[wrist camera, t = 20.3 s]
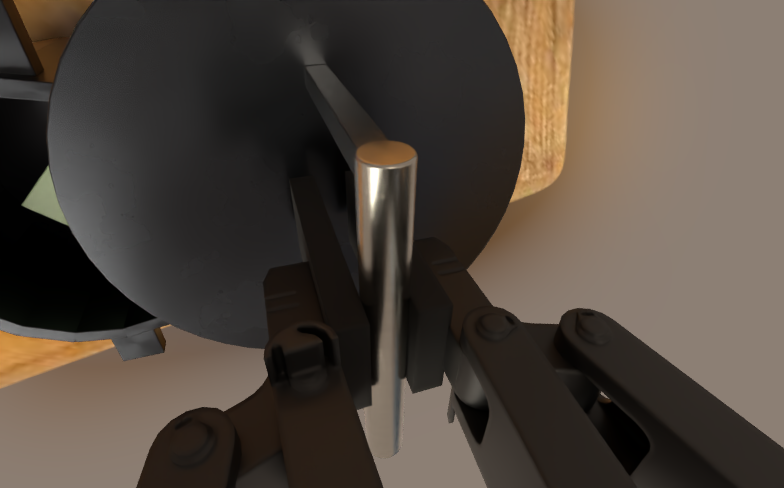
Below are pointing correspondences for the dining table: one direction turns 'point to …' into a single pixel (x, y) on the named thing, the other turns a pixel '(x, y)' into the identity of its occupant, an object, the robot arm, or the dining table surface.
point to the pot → (49, 220)
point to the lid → (282, 153)
